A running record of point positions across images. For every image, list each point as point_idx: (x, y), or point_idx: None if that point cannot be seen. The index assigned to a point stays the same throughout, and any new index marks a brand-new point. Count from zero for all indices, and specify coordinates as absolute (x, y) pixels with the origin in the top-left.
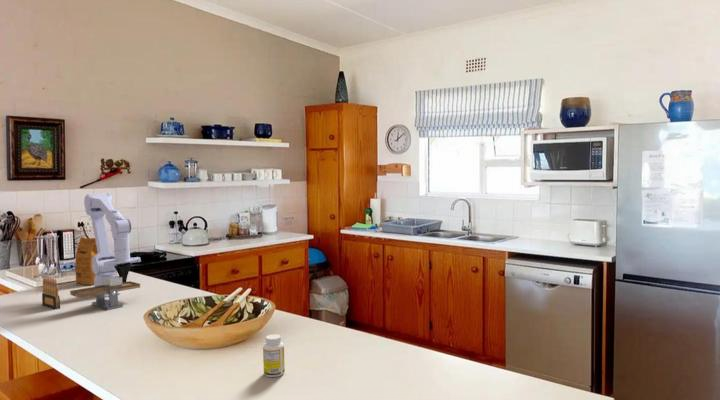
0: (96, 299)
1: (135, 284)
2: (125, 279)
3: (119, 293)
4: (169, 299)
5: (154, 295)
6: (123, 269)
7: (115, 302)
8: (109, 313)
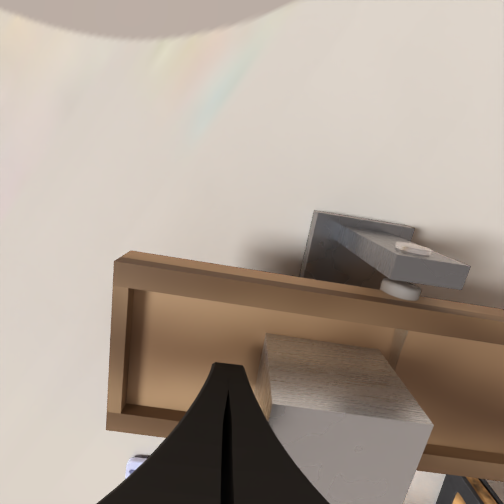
0: None
1: (165, 271)
2: (223, 377)
3: (137, 458)
4: (15, 58)
5: (25, 261)
6: (277, 501)
7: (366, 230)
8: (453, 152)
